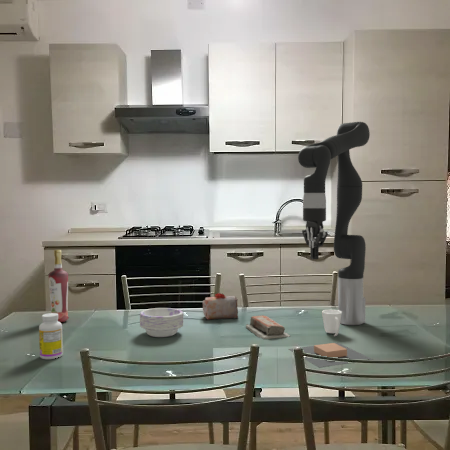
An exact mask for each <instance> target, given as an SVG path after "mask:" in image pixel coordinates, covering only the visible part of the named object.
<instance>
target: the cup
mask: <svg viewBox="0 0 450 450" xmlns="http://www.w3.org/2000/svg"><path fill="white" fill-rule="evenodd" d="M341 314H342V311H339V310H338V309H330V308H329V309H323V310H322V311H321V315H322V321H323V328H324V331H325V332H326V333H328V334H333V337H337V336H338V335H339V332H340V325H341V323H340V320H341Z"/></svg>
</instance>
